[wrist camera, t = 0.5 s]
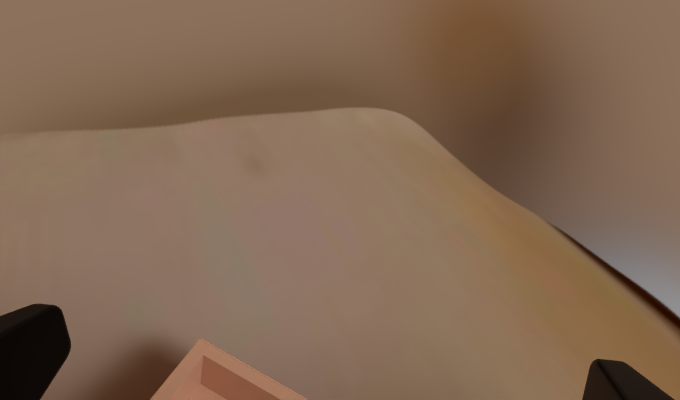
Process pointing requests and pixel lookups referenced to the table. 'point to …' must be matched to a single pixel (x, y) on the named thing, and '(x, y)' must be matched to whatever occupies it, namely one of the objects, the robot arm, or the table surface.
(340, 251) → the table surface
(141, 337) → the table surface
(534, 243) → the table surface
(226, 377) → the dish
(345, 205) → the table surface
